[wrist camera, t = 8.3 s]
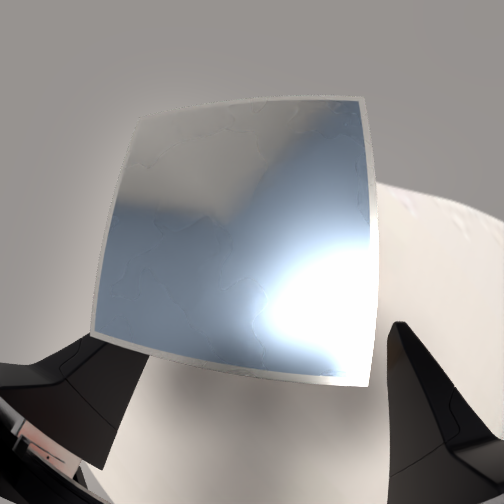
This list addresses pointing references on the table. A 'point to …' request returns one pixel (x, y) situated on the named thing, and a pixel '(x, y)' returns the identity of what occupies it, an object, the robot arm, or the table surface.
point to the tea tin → (246, 240)
